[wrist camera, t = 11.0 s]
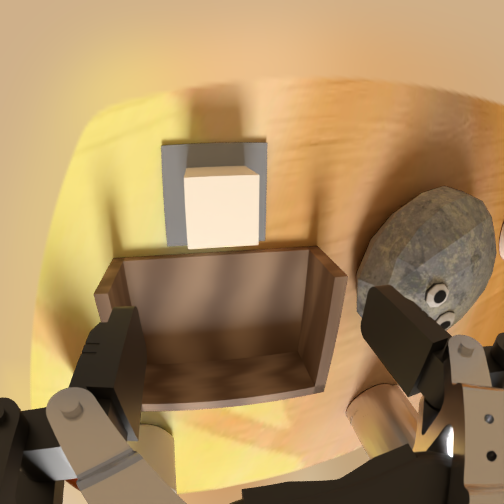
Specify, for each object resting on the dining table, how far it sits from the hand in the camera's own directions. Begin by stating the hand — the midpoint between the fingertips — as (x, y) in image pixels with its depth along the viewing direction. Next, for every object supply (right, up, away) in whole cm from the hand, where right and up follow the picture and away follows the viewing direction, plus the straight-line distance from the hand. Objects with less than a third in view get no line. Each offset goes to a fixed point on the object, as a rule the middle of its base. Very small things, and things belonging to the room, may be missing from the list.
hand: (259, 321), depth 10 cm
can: (-16, -25, +27) cm, 40 cm away
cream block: (-3, +7, +16) cm, 18 cm away
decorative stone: (+20, +2, +24) cm, 31 cm away
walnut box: (-4, -4, +21) cm, 22 cm away
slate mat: (-3, +7, +16) cm, 18 cm away
